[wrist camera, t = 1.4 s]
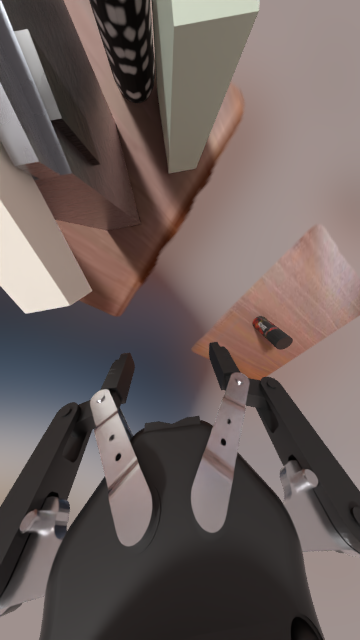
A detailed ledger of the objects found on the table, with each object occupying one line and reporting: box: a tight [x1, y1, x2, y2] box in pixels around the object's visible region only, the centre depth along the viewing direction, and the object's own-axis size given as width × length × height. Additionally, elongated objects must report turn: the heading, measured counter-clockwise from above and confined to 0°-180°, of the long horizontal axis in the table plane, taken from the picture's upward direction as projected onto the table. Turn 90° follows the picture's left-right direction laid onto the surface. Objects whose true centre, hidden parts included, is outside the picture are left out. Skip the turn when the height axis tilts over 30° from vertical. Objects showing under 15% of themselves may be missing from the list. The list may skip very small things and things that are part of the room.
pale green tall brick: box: [152, 0, 260, 173], centre depth 18 cm, size 7×12×26 cm, turn 9°
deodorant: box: [253, 316, 293, 349], centre depth 53 cm, size 6×6×15 cm
